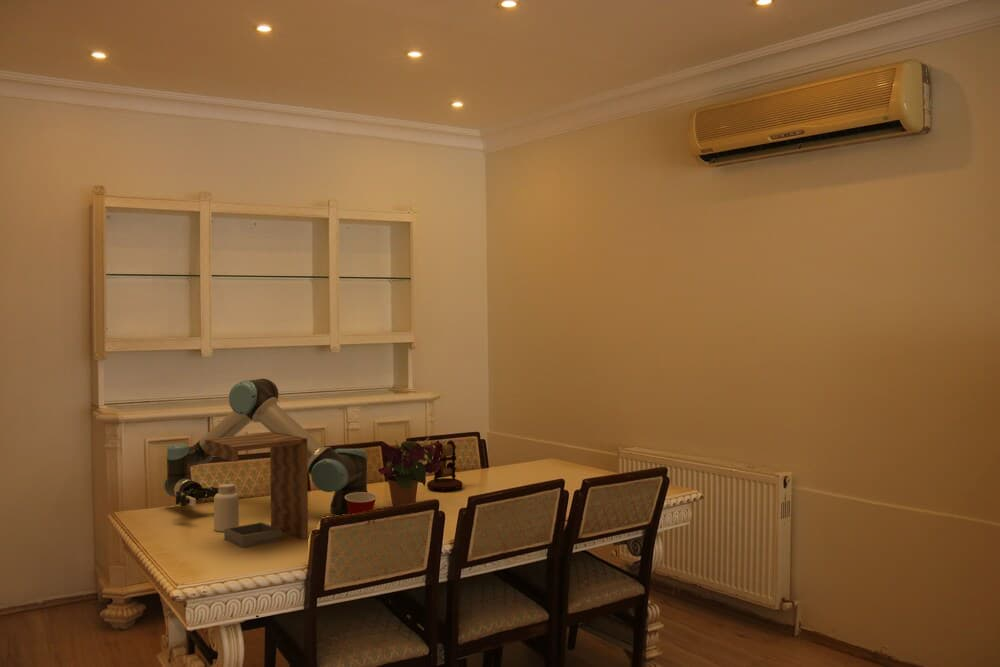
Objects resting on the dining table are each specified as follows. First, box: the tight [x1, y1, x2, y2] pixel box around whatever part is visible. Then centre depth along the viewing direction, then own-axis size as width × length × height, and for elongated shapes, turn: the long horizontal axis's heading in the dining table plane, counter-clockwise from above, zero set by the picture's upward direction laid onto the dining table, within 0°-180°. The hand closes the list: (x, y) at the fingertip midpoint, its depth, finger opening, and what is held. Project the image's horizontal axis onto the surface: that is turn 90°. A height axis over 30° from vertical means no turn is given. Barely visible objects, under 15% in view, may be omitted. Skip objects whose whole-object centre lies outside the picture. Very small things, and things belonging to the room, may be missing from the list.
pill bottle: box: [213, 483, 240, 533], centre depth 288 cm, size 8×8×15 cm
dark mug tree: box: [426, 439, 464, 493], centre depth 354 cm, size 15×15×20 cm
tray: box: [223, 521, 282, 549], centre depth 275 cm, size 13×13×4 cm
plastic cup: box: [345, 492, 378, 514], centre depth 286 cm, size 11×11×12 cm
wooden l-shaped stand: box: [205, 432, 309, 540], centre depth 275 cm, size 21×25×32 cm
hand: (214, 499), depth 295 cm, fingers open, 13 cm apart
